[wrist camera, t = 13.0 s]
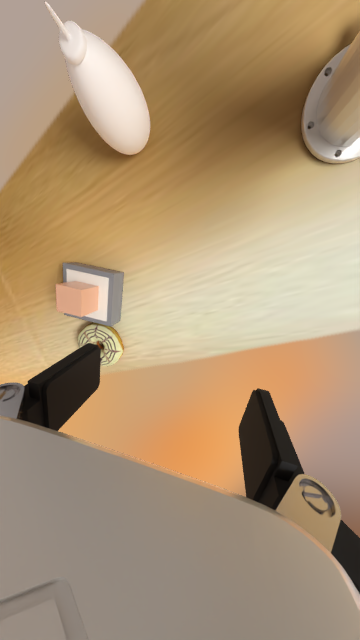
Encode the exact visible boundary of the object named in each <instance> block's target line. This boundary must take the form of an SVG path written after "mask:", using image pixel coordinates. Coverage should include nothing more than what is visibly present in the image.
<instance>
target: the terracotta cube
mask: <svg viewBox="0 0 360 640" xmlns="http://www.w3.org/2000/svg"><path fill="white" fill-rule="evenodd" d="M98 297H99V286H96V285H92V284H87V283H83V282H78V281H72V282H65V283H59V284H56V304H57V311H59V312H63V313H67V314H71V315H75V316H79V317H83V316H85V315H88V314H90V313H92V312H95V311H97V310H98Z"/></svg>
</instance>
